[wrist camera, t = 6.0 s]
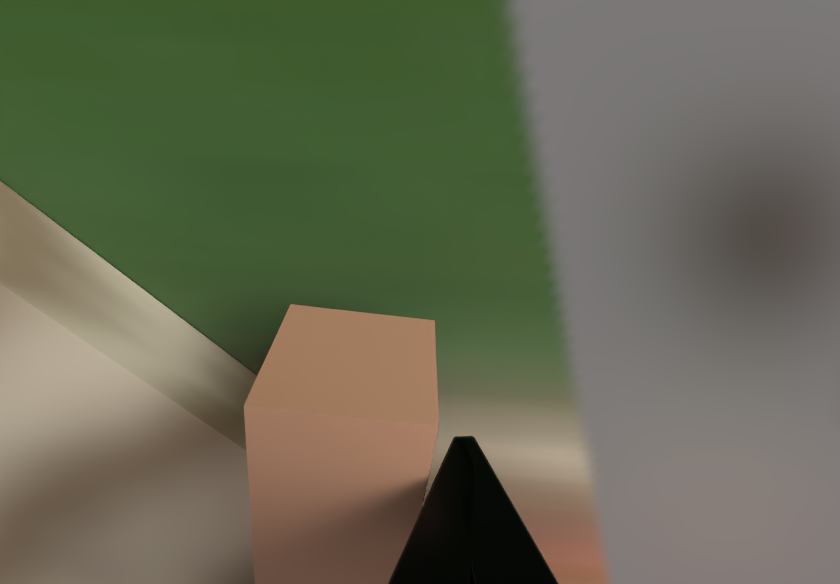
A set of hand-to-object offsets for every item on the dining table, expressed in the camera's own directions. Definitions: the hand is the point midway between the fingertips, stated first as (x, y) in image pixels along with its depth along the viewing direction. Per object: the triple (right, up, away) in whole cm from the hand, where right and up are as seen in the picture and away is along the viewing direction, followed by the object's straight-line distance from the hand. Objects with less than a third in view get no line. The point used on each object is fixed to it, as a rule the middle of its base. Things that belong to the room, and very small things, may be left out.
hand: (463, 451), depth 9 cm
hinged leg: (-3, -2, +4) cm, 5 cm away
